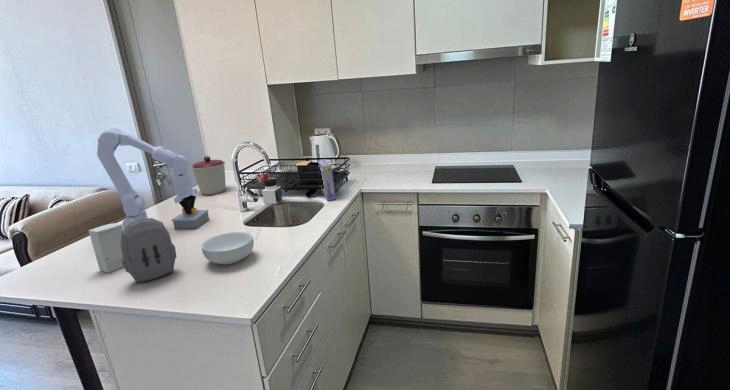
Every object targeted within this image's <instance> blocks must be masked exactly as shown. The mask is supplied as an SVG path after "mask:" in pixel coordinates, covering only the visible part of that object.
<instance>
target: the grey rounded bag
mask: <svg viewBox="0 0 730 390" xmlns="http://www.w3.org/2000/svg"><path fill="white" fill-rule="evenodd" d="M121 233H122V236H121V250H122V254H123V257H122V258H121V260H122V265H123V266H124V269H125V272H126V273H128V274H130V276H131V277H132V279H133V280H134V281H135V282H136V283H141V282H147V281H150V280H151V281H152V280H155V279H158V278H160V277H164V276H166V275H169V273H172V272H173V271H174V270H175V264H176V263H175V262H176V259H177V257H178V256H177V252H176V247H175V245H174V243H172V242H173V241H172V240H171V239H172V238H171V235H170V232H169V230H167V227H166V226H165V225H164V222H163V221H160V220H159V219H156V218H153V217H147V218H141V219H138V220H136V221H134V222H131V223H129V224H128V225H127V226H126V228H125V229H123V231H122V232H121Z"/></svg>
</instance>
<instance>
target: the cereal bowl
mask: <svg viewBox="0 0 730 390" xmlns="http://www.w3.org/2000/svg"><path fill="white" fill-rule="evenodd" d="M254 244H255V241H254V236H253V235H252V234H251V233H249V232H246V231H234V232H232V231H231V232H227V233H226V232H225V233H221V234H218V235H215V236H212V237H210V238H208V239H206V240H205V241H203V242H202V244H201V251H202V252H201V253H202V254H203V257H204V258H205V259H206V260H207V261H208V262H210V263H213V264H219V265H223V266H224V265H228V266H229V265H232V264H236V263H239V262H240V261H241V260H243V259H244V258H246V257H247V256H248V255H250V254H251V253H252V250H253V248H254Z"/></svg>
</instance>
